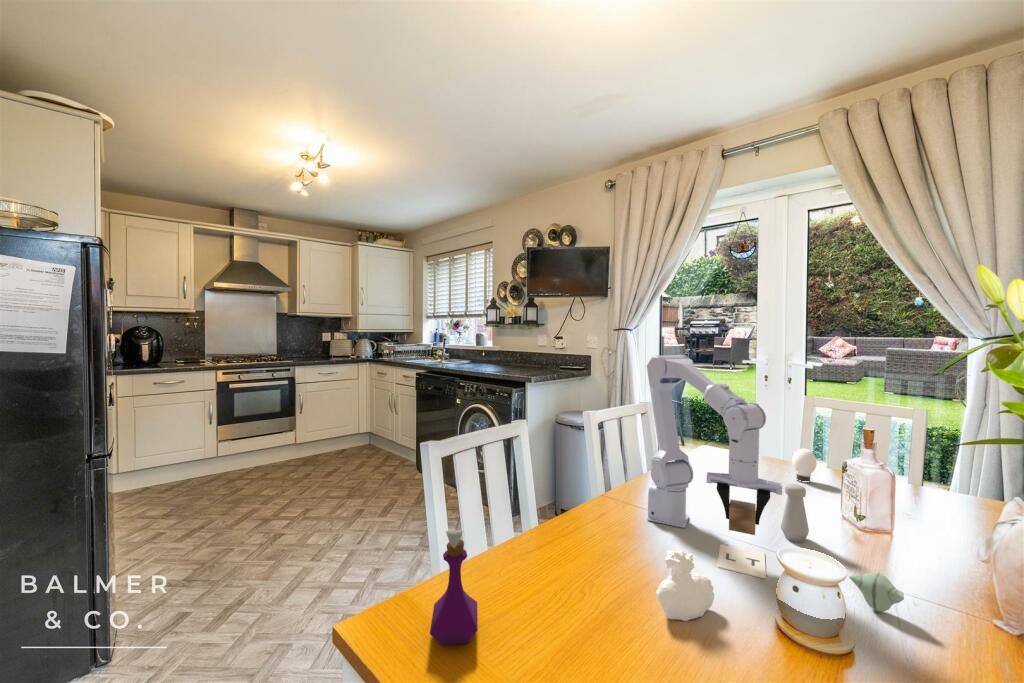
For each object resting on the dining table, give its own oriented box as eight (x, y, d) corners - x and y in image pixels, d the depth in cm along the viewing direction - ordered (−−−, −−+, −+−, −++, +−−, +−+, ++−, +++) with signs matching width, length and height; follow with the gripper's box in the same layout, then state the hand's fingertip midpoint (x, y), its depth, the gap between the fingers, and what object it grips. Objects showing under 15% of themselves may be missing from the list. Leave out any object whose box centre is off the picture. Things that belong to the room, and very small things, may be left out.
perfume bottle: (434, 622, 76) (434, 520, 75) (477, 619, 76) (477, 518, 76) (429, 654, 68) (429, 541, 68) (477, 651, 69) (477, 539, 68)
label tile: (717, 567, 93) (717, 566, 93) (720, 544, 103) (720, 543, 103) (765, 578, 89) (765, 577, 89) (764, 554, 98) (764, 553, 98)
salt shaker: (813, 545, 103) (814, 490, 102) (786, 542, 104) (787, 489, 104) (802, 533, 108) (803, 482, 108) (776, 531, 110) (777, 480, 109)
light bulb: (787, 478, 149) (787, 446, 149) (805, 477, 150) (806, 445, 149) (802, 485, 142) (803, 451, 142) (821, 484, 143) (822, 451, 143)
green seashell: (846, 602, 81) (847, 567, 81) (855, 595, 83) (856, 560, 83) (902, 627, 75) (903, 588, 74) (909, 618, 77) (911, 580, 77)
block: (728, 529, 95) (729, 507, 94) (729, 520, 99) (730, 499, 99) (755, 535, 92) (755, 512, 92) (755, 525, 97) (755, 503, 96)
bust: (707, 613, 82) (681, 549, 88) (734, 608, 76) (704, 539, 82) (655, 628, 77) (631, 560, 83) (679, 624, 72) (652, 551, 78)
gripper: (705, 458, 95) (704, 519, 96) (783, 469, 88) (782, 535, 89) (708, 450, 101) (707, 508, 102) (781, 460, 94) (780, 521, 95)
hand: (742, 520), depth 96 cm, fingers closed on block, 5 cm apart
